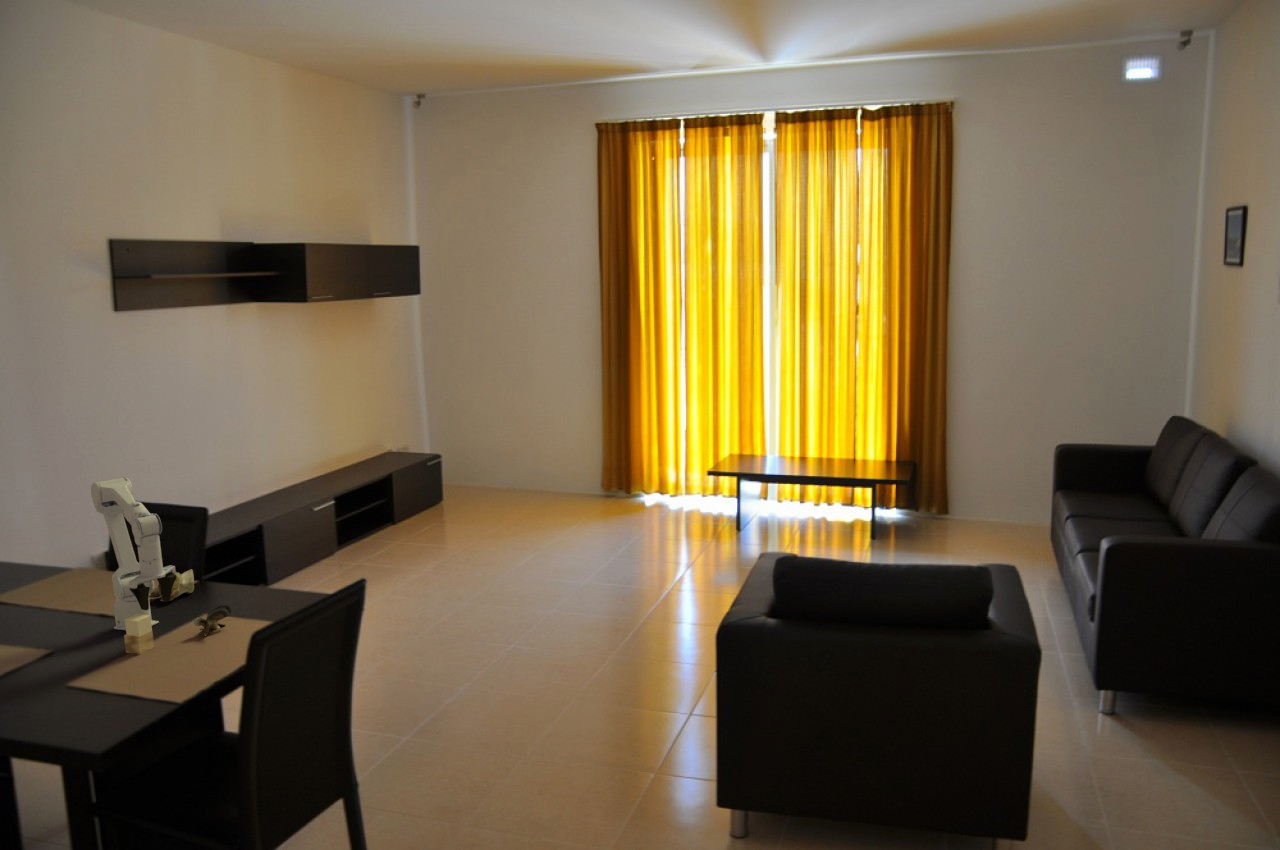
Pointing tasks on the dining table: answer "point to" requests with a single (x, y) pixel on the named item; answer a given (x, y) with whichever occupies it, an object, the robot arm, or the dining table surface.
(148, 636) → the oak base block
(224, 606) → the eagle figurine
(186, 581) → the ceramic sculpture
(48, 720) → the dining table surface
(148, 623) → the cream block
